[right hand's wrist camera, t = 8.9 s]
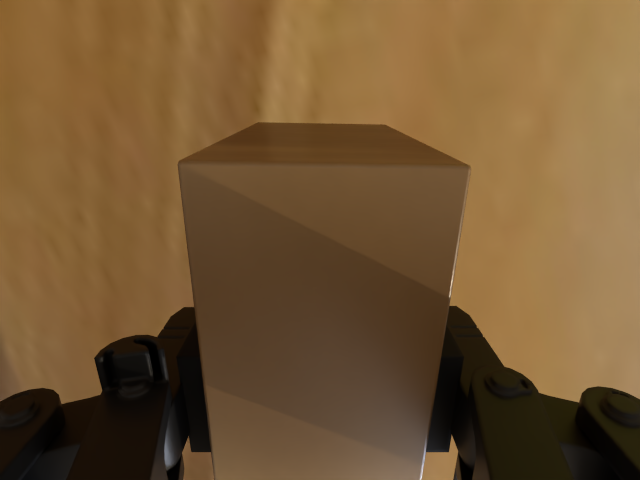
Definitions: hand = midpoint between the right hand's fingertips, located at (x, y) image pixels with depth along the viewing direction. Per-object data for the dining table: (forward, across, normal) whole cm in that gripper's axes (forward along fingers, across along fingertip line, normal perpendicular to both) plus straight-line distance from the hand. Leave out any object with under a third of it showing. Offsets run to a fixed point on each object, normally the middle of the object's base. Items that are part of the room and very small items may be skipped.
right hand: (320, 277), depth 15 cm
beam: (+1, -1, -34) cm, 34 cm away
